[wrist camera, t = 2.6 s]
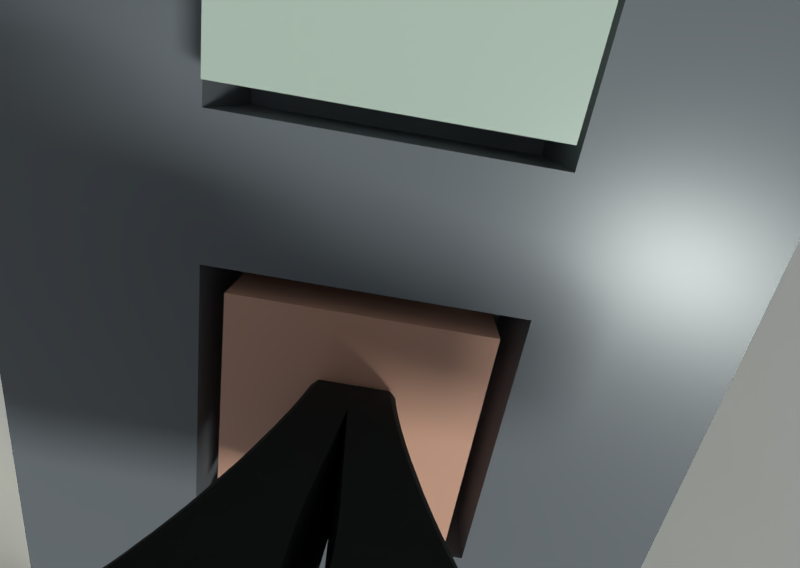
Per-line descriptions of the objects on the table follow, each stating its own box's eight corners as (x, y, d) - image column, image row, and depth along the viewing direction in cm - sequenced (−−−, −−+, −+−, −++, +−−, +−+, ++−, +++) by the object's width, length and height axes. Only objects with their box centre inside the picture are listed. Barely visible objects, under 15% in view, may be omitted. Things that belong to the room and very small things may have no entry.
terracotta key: (484, 291, 10) (500, 339, 8) (441, 466, 11) (445, 540, 9) (262, 254, 9) (224, 292, 8) (250, 435, 11) (217, 504, 9)
